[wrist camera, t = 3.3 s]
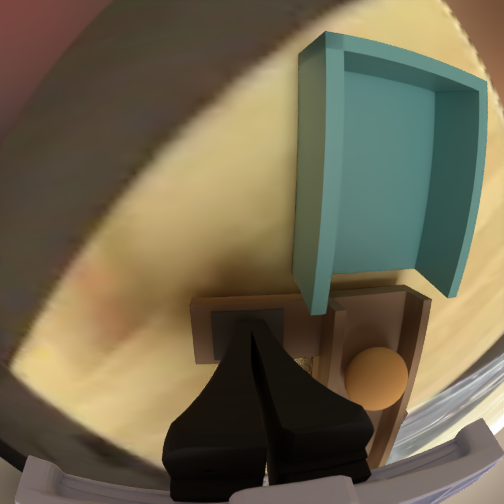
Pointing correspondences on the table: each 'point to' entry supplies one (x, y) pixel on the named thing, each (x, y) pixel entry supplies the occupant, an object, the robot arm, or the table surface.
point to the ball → (376, 378)
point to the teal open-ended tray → (385, 164)
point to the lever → (328, 339)
